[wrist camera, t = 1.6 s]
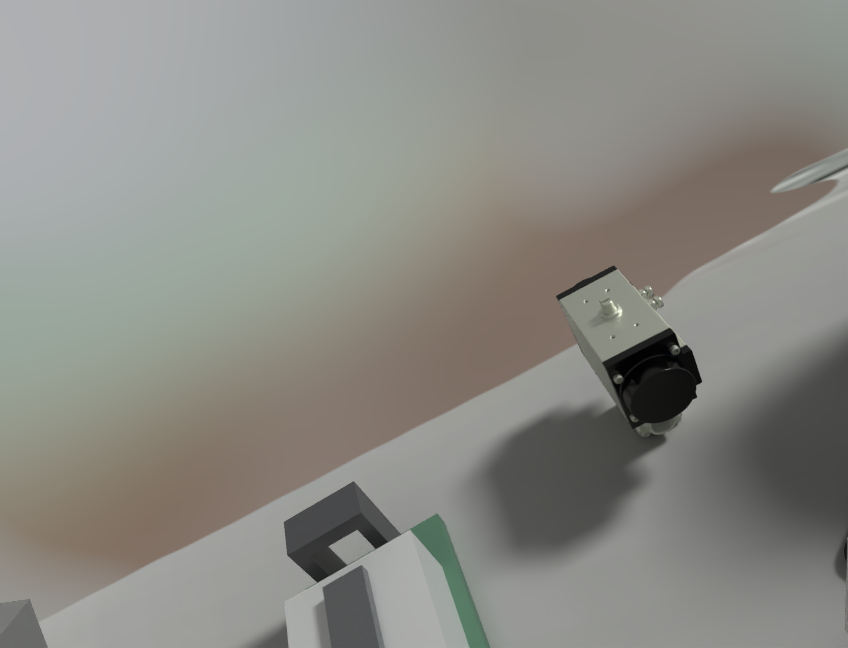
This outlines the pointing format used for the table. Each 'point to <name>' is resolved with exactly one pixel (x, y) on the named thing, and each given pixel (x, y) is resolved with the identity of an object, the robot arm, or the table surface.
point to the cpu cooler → (382, 576)
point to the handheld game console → (845, 550)
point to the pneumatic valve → (632, 350)
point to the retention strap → (352, 611)
